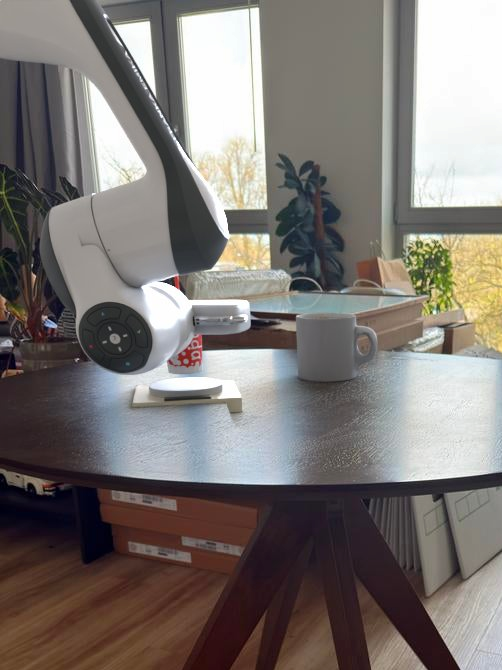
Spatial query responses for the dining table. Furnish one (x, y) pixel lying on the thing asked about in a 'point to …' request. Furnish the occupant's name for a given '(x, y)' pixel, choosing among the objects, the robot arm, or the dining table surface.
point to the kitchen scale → (188, 393)
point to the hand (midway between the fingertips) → (180, 311)
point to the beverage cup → (187, 354)
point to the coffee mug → (331, 346)
